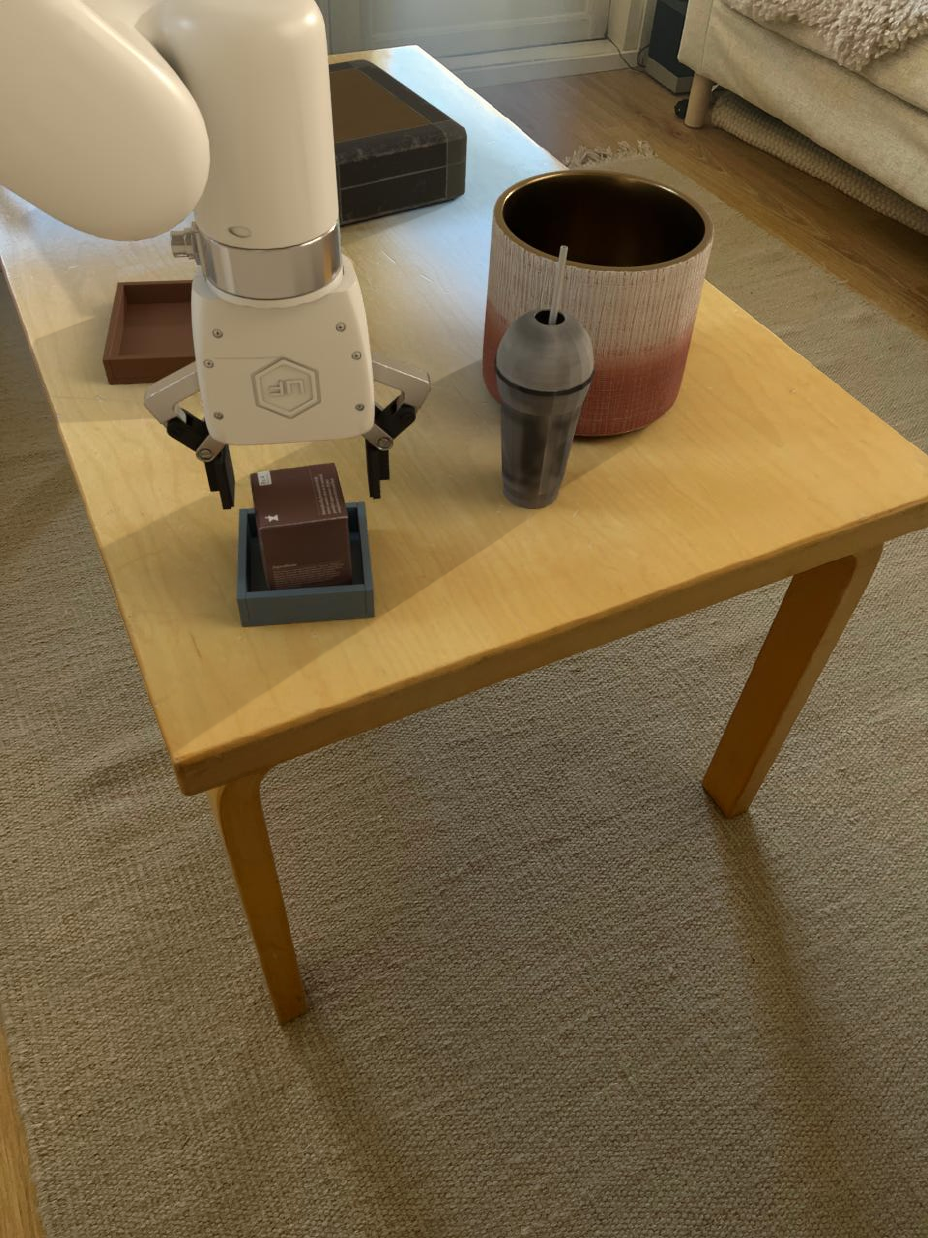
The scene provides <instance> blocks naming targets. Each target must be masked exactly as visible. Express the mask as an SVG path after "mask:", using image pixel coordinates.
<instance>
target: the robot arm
mask: <svg viewBox="0 0 928 1238" xmlns="http://www.w3.org/2000/svg"><path fill="white" fill-rule="evenodd" d="M325 25H326V24H325V22H324V17H323V14H322V11H321V10H320V7H319V5H318V4H317V2H316V1H315V0H0V186H2V187H4V188H5V189H7V190H8V191H10V192H12V193H13V194H15V195H16V196H18V197H20V198H21V199H23V200H25V202H27V203H29V204H30V205H32V206H33V207H35V208H37V209H38V210H40V211H41V212H43V213H44V214H47V215H48V216H50V217H51V218H53V219H55V220H56V221H59V222H60V223H62V224H64V225H66V226H68V227H70V228H72V229H74V230H76V231H78V232H82V233H85V234H87V235H90V236H94V237H97V238H99V239H105V240H110V241H116V242H138V241H144V240H149V239H153V238H156V237H158V236H160V235H164V234H165V233H167V232H169V231H170V232H169V233H170V234H169V237H170V247H171V253H172V256H173V258H174V259H175V258H187V259H188V260H195V263H196V266H197V268H196V270H195V271H194V276H193V279H192V280H193V282H192V295H191V310H192V330H193V340H194V349H195V358H196V361H194V362H193V363H191V364H189V365H187V366H185V367H183V368H181V369H180V370H178V371H176V372H174V373H172V374H170V375H168V376H167V377H165V378H163V379H161V380H159V381H157V382H153V383H152V384H149V385H148V386H147V387H146V388H145V390H144V396H143V407H145V409H146V410H147V411H148V412H149V414H150V415H151V416H152V417H153V418H154V419H155V420H156V421H157V422H158V424H159V425H162V426H163V427H164V428H165V430H166V433H167V435H168V436H169V437H170V438H172V439H174V440H175V441H177V442H178V443H180V444H182V445H183V446H185V447H186V448H188V449H190V450H191V451H193V452H195V457H196V458H197V460H199V461H200V462H203V465H204V470H205V474H206V478H207V483H208V488H209V491H210V492H211V493H213V492H219V497H220V501H221V506H222V510H223V511H225V510H232V508H235V498H236V497H235V495H236V478H235V472H234V467H233V462H232V456H231V451H230V446H261V445H262V446H263V445H279V444H295V443H296V444H297V443H310V442H311V443H312V442H326V441H339V440H340V441H341V440H349V439H353V438H357V437H363V438H364V446H365V461H366V474H367V475H366V476H367V483H368V492H369V493H368V494H369V498H370V499H371V498H372V500H381V481H390V479H391V474H390V450H391V449H392V448H393V446H394V443H395V442H394V440H395V439H396V438H398V437H399V436H400V435H401V434H402V433H404V431H406V429H408V428H409V427H410V426H411V425H412V424H413V423H414V422H415V421H416V419H417V413H418V412H419V410H421V409H422V406H424V403H425V401H426V400H427V398H428V397H429V395H430V393H431V392H432V383H431V378H430V377H431V376H430V374H429V372H427V371H426V370H423V369H421V368H418V367H415V366H414V365H411V364H408V363H405V362H403V361H400V360H397V359H395V358H392V357H390V356H387V355H385V354H382V353H380V352H378V351H375V350H372V349H371V342H370V334H369V325H368V320H367V313H366V307H365V304H364V299H363V294H362V290H361V286H360V283H359V280H358V277H357V274H356V270H355V268H354V265H353V263H352V261H351V260H350V258H349V257H348V256H346V255H345V254H344V253H342V252H343V251H342V241H341V239H342V237H341V226H340V223H339V209H338V194H337V180H336V166H335V151H334V137H333V123H332V109H331V95H330V80H329V66H328V64H329V57H328V56H329V53H328V40H327V33H326V26H325ZM192 212H193V217H194V220H193V221H191V227H184V228H183V230H172V229H174V228H176V227H177V226H178V225H180V224H181V223H182V222H184V221H185V220H186V219H187V217H188V216H189V215H190V214H191V213H192ZM375 382H376V383H379V384H382V385H385V386H387V387H390V388H393V389H394V390H398V391H400V394H399V395H397V397H395V398H394V399H393V400H392V401H391V402H389V404H388V405H387V406H385V408H383V407H382V406H381V404H379V403H378V402H377V401H376V399H375ZM199 392H200V399H201V404H202V405H201V406H202V411H203V415H204V417H202V419H200V418H199V417H197V416H195V414H193V413H191V412H189V411H188V410H186V409H185V408H182V407H180V406H179V404H178V403H180V402H182V401H184V400H186V399H187V398H190V397H192V396H193V395H195V394H197V393H199Z"/></svg>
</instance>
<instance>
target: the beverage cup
mask: <svg viewBox="0 0 928 1238" xmlns="http://www.w3.org/2000/svg"><path fill="white" fill-rule="evenodd" d="M567 250H568V247H567V246H561V248H560V255H559V261H558V267H557V273H556V280H555V286H554V292H553V299H552V305H551V308H541V309H535V310H532V311H529V312H527V313H525V314H523V315H522V316H520V317H519V318H518V319H516V320H515V321H514V322H513V323H512V324H511V325H510V326H509V328H508V329H507V331H506V332H505V334H504V336H503V338H502V340H501V341H500V344H499V347H498V351H497V355H496V357H495V360H494V370H495V372H496V377H497V386H498V392H499V394H500V404H499V405H500V408H499V409H500V412H499V413H500V446H501V447H500V454H501V457H500V458H501V461H500V462H501V478H502V492H503V495H504V496H505V498H506V499H507V500H508V501H509V502H510V503H512V504H514V505H516V506H518V507H521V508H525V509H540V508H544V507H548V506H549V505H552V504H553V503H554V502H555V501H556V500H557V499H558V496H559V494H560V489H561V485H562V482H563V480H564V478H565V473H566V470H567V465H568V461H569V457H570V454H571V450H572V446H573V442H574V438H575V436H574V434H575V430H576V426H577V422H578V418H579V414H580V410H581V406H582V403H583V401H584V398H585V396H586V394H587V391H588V389H589V386H590V383H591V381H592V379H593V377H594V374H595V370H594V357H593V349H592V344H591V340H590V338H589V336H588V334H587V332H586V331H585V329H584V328H583V326H582V325H581V324H580V322H579V321H578V320H576V319H575V318H574V317H573V316H571V315H570V314H568V313H566V312H563V311H561V310H558V306H559V300H560V294H561V288H562V281H563V275H564V269H565V263H566V256H567Z"/></svg>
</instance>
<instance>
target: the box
mask: <svg viewBox="0 0 928 1238" xmlns="http://www.w3.org/2000/svg"><path fill="white" fill-rule="evenodd" d="M249 483H250V489H251V496H252V501H253V508H254V510H255V516H256V524H257V530H258V537H259V544H260V550H261V556H262V563H263V569H264V575H265V580H266V586H267V591H272V590H287V589H301V588H316V587H330V586H345V585H353V583H352V568H351V556H350V543H349V529H348V513H347V509H346V504H345V503H346V501H345V496H344V493H343V488H342V485H341V481H340V477H339V473H338V469H337V466H336V463H335V462H327V463H317V464H311V465H304V466H296V467H295V466H294V467H289V468H279V469H271V470H263V471H257V472H252V473H249Z"/></svg>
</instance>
